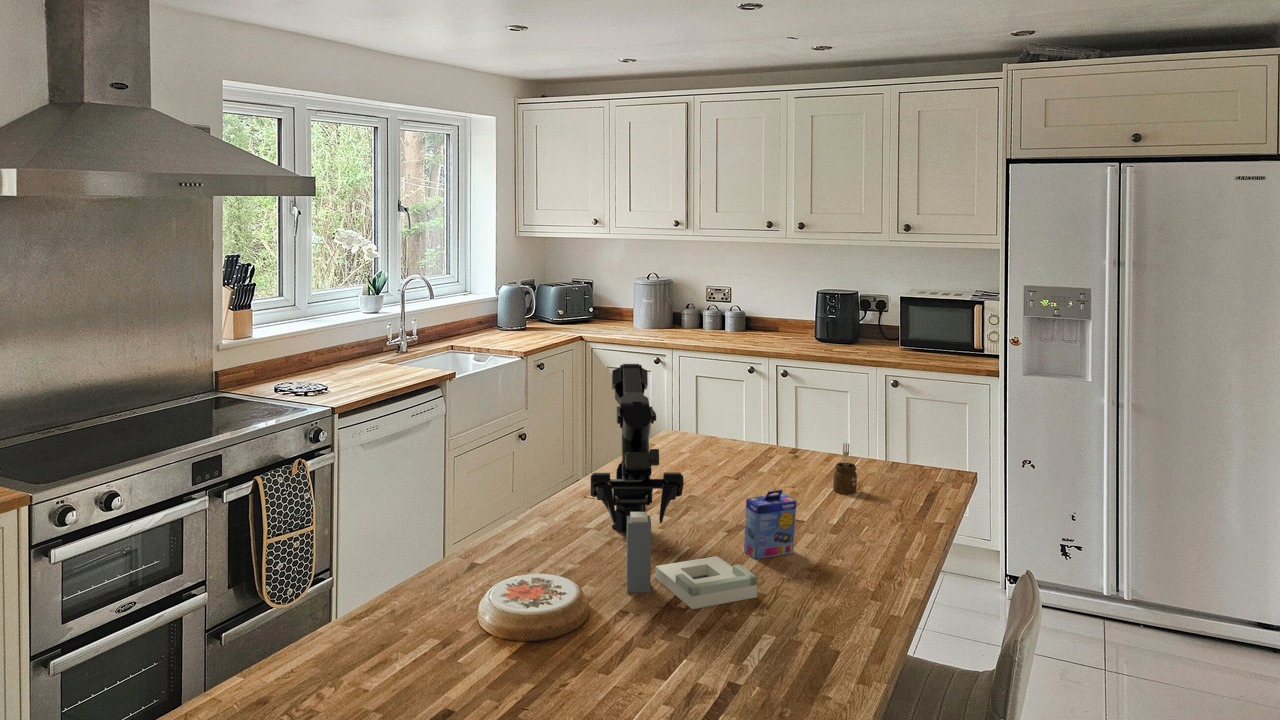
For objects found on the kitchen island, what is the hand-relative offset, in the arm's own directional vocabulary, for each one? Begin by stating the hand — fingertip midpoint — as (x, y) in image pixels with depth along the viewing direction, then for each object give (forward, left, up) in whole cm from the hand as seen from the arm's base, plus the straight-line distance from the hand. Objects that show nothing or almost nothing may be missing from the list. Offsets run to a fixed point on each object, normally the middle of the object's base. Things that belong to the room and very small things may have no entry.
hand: (637, 522), depth 193 cm
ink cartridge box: (-31, +7, -12) cm, 34 cm away
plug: (+3, +4, -12) cm, 13 cm away
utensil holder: (-79, -11, -12) cm, 81 cm away
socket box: (-8, +12, -12) cm, 18 cm away
